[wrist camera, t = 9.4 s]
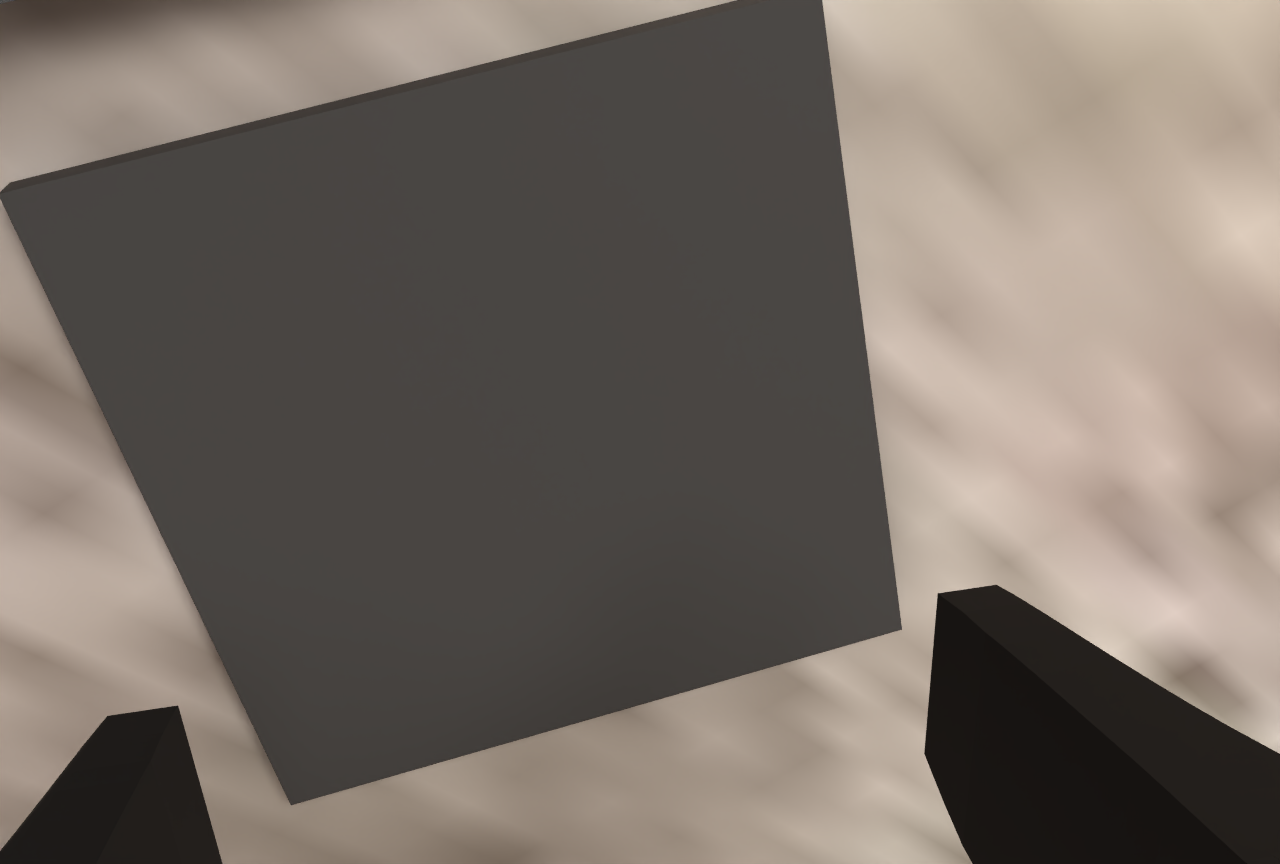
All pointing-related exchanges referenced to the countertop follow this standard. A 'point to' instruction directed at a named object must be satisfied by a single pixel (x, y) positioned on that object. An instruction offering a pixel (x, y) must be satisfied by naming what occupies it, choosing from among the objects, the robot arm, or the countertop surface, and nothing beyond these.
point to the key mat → (494, 386)
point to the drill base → (3, 0)
